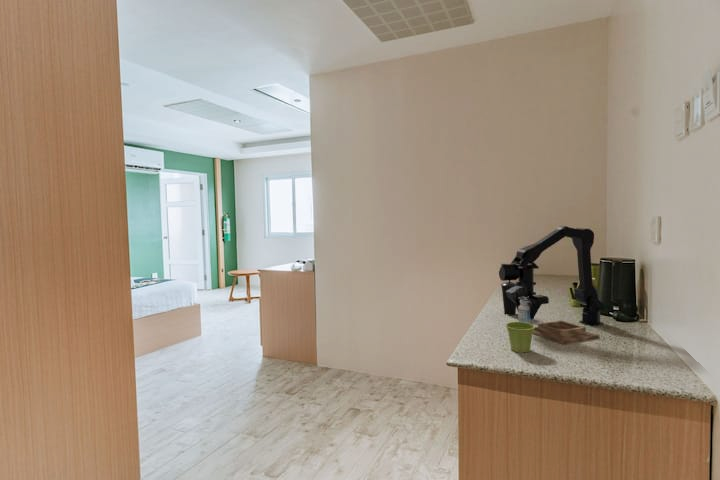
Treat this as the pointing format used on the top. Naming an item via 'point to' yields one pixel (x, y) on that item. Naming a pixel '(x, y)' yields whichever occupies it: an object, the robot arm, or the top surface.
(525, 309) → the pill bottle
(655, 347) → the top surface
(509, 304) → the drinking cup
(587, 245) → the robot arm
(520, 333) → the plant pot
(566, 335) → the holder
